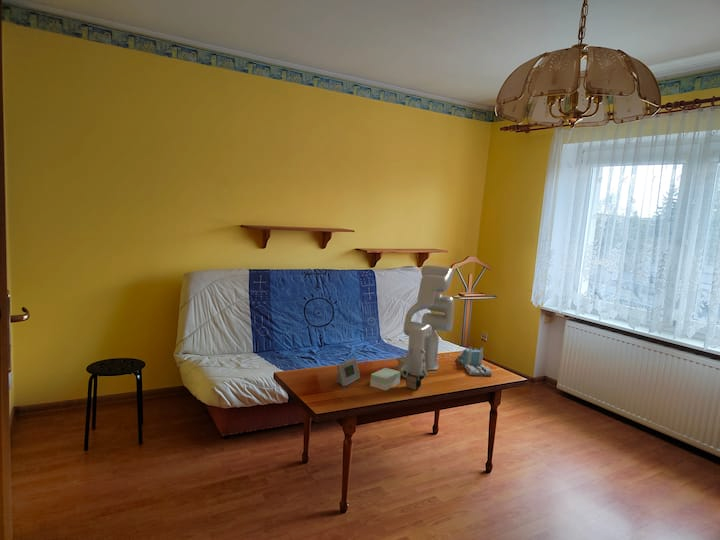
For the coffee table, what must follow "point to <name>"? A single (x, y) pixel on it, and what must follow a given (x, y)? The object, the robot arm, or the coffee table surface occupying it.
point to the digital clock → (348, 372)
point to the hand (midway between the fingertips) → (413, 385)
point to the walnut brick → (411, 381)
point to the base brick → (385, 378)
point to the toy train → (401, 364)
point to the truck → (473, 362)
